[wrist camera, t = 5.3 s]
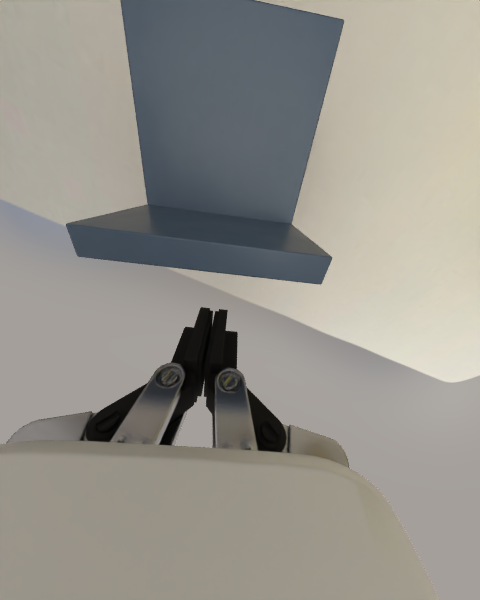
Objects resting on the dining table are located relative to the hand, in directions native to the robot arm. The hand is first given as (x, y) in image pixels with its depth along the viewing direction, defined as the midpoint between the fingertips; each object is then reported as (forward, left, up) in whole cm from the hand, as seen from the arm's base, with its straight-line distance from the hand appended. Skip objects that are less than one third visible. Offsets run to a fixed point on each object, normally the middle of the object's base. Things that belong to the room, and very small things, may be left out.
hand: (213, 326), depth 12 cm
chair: (0, +9, -9) cm, 13 cm away
